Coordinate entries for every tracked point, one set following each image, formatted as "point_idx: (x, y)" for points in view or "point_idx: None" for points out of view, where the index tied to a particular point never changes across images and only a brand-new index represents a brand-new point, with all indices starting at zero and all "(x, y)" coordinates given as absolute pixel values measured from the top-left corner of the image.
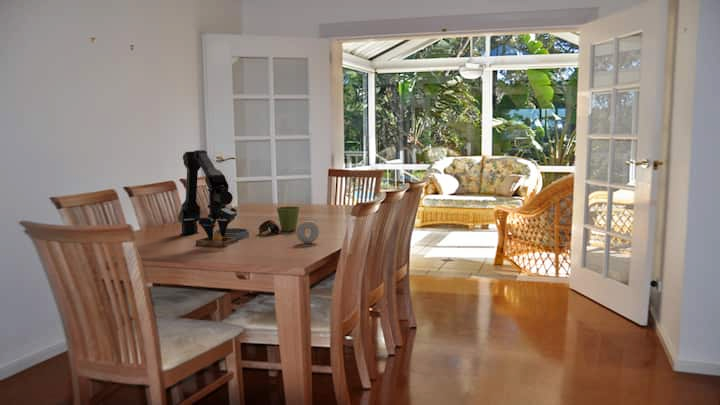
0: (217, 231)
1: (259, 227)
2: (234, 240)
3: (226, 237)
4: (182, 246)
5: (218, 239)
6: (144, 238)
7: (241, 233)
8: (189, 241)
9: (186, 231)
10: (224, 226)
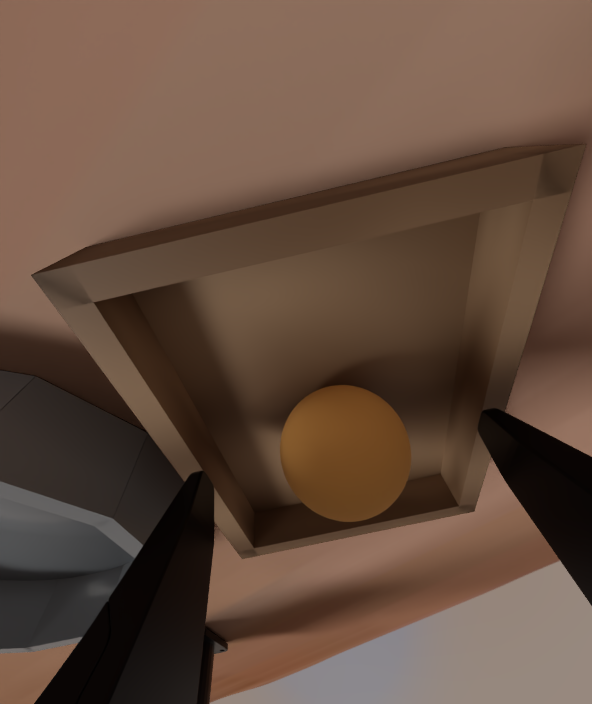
0: (81, 622)
1: None
2: (184, 234)
3: (176, 441)
4: (500, 496)
5: (382, 403)
6: (363, 640)
7: None
8: (334, 558)
9: (209, 662)
10: (135, 686)
